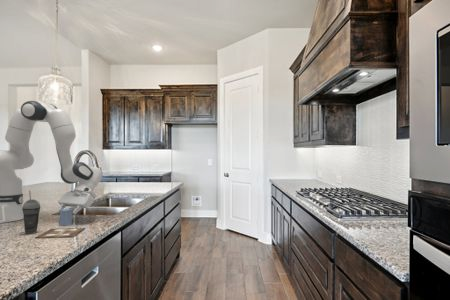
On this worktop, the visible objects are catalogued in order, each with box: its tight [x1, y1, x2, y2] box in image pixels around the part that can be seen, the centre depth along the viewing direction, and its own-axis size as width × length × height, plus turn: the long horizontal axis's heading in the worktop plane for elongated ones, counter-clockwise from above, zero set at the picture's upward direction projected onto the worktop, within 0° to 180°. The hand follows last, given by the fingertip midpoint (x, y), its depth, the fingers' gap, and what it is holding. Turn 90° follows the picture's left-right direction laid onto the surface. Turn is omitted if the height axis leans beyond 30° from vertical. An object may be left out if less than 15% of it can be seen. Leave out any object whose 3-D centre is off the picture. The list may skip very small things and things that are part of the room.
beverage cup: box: [22, 190, 42, 235], centre depth 131 cm, size 7×7×20 cm
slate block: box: [59, 208, 73, 227], centre depth 145 cm, size 4×4×8 cm
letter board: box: [34, 227, 86, 239], centre depth 130 cm, size 16×14×1 cm
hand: (66, 212), depth 145 cm, fingers open, 8 cm apart
